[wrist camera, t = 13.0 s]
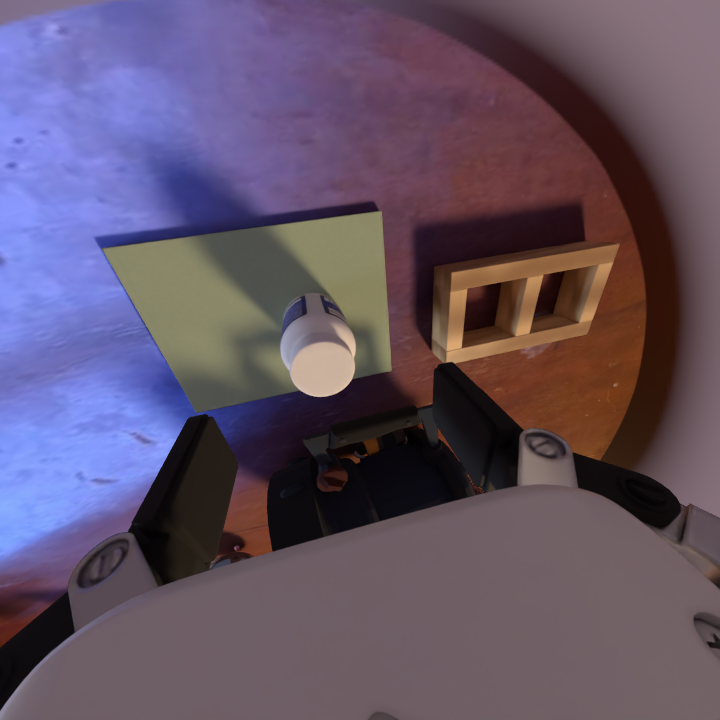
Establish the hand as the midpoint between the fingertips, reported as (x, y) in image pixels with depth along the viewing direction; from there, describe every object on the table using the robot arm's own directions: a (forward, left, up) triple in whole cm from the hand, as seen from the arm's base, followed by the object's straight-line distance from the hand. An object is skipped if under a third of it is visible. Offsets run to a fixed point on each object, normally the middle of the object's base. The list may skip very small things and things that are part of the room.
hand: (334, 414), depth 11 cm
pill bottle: (+1, 0, -14) cm, 14 cm away
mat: (0, -3, -14) cm, 15 cm away
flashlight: (+17, +3, -15) cm, 23 cm away
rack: (+2, +20, -14) cm, 25 cm away
